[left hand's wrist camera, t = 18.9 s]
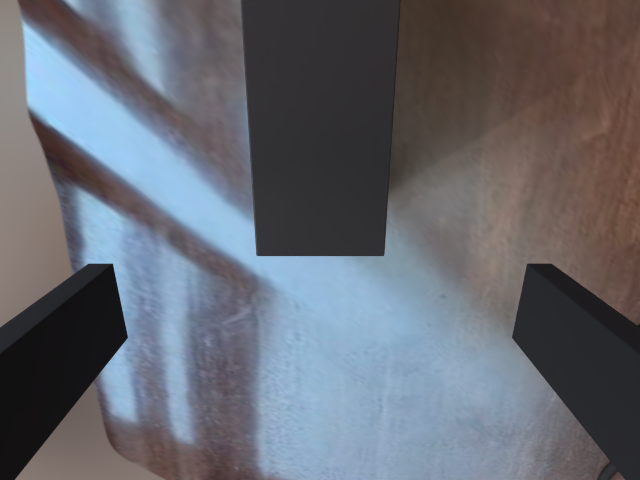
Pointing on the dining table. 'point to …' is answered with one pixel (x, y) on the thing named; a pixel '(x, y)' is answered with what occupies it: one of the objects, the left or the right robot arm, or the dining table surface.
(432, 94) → the dining table surface
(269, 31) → the box
